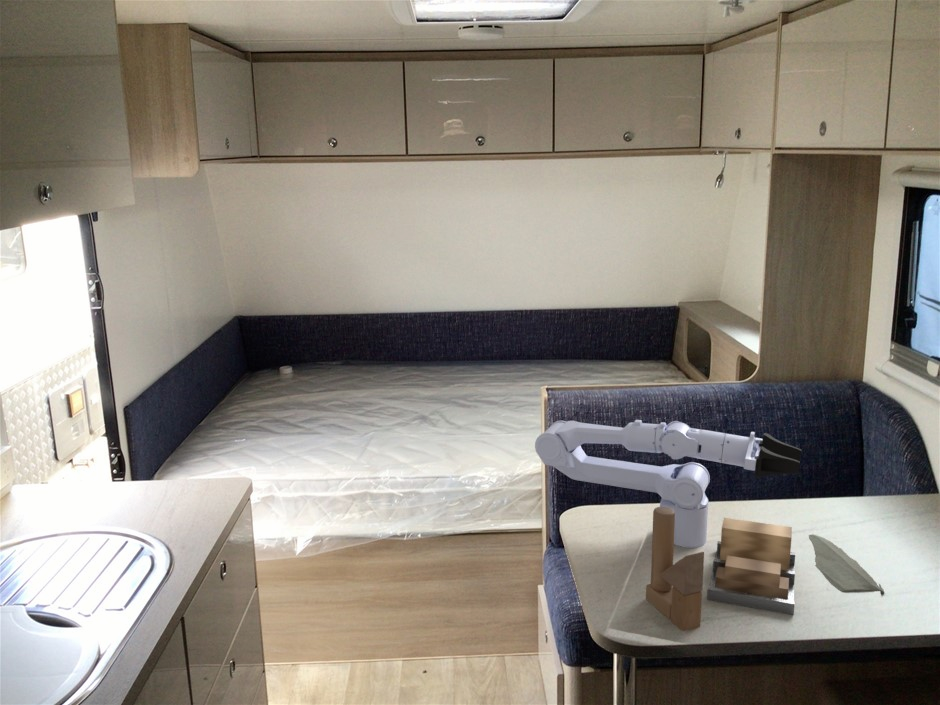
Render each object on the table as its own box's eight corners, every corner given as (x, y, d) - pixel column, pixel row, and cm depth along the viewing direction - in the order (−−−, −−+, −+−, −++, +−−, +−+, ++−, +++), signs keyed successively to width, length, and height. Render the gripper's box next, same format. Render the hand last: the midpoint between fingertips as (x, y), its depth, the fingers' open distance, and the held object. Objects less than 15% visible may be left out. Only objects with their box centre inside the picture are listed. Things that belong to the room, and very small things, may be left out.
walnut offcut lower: (714, 589, 140) (715, 577, 140) (717, 579, 144) (717, 566, 143) (787, 602, 136) (788, 589, 135) (787, 590, 140) (788, 578, 139)
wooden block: (682, 635, 129) (687, 534, 124) (644, 603, 138) (647, 507, 134) (701, 630, 130) (706, 529, 126) (662, 598, 140) (666, 504, 135)
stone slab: (836, 606, 139) (890, 595, 140) (835, 592, 138) (890, 581, 139) (777, 547, 161) (825, 539, 161) (776, 535, 160) (824, 526, 161)
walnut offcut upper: (724, 578, 139) (725, 565, 139) (726, 568, 143) (727, 555, 142) (779, 587, 136) (780, 574, 135) (779, 576, 140) (780, 563, 139)
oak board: (719, 566, 148) (721, 527, 146) (721, 555, 152) (723, 517, 150) (788, 578, 144) (791, 537, 142) (788, 566, 148) (791, 527, 146)
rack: (706, 603, 138) (707, 589, 137) (717, 554, 155) (717, 541, 154) (793, 619, 132) (794, 604, 132) (794, 566, 149) (795, 552, 149)
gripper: (721, 438, 145) (801, 452, 140) (731, 418, 158) (804, 430, 152) (717, 475, 146) (796, 489, 141) (727, 452, 159) (799, 465, 154)
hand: (800, 461), depth 147 cm, fingers open, 7 cm apart
